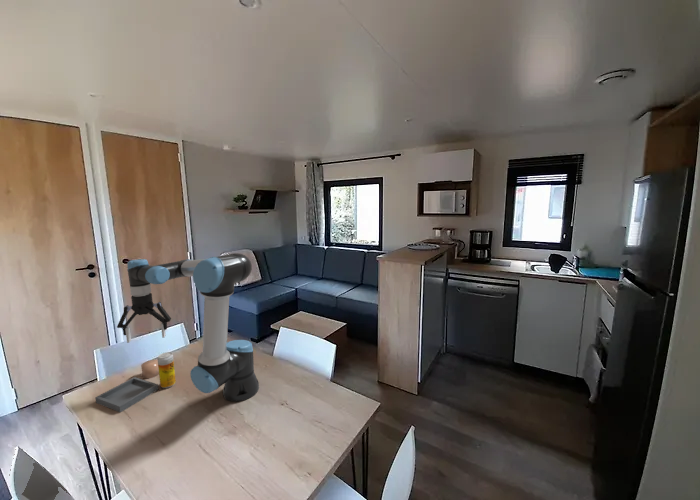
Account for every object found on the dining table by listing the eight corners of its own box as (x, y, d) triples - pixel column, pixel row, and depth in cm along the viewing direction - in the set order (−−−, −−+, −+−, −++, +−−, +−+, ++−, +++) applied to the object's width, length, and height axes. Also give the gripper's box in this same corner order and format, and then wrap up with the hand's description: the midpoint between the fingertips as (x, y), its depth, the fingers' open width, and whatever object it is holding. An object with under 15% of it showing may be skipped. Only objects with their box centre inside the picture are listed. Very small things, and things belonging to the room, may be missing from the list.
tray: (158, 389, 133) (157, 384, 133) (120, 412, 119) (119, 406, 118) (135, 382, 139) (134, 376, 139) (96, 402, 124) (95, 397, 124)
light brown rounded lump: (162, 372, 147) (161, 361, 146) (148, 380, 141) (147, 368, 140) (153, 369, 150) (152, 358, 149) (139, 377, 143) (137, 365, 142)
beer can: (170, 389, 134) (167, 358, 131) (157, 389, 134) (154, 358, 131) (178, 381, 140) (175, 351, 137) (166, 381, 140) (162, 351, 137)
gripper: (175, 288, 138) (179, 331, 141) (111, 294, 130) (117, 340, 133) (171, 293, 131) (176, 337, 134) (103, 299, 123) (110, 347, 126)
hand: (146, 339), depth 134 cm, fingers open, 13 cm apart
